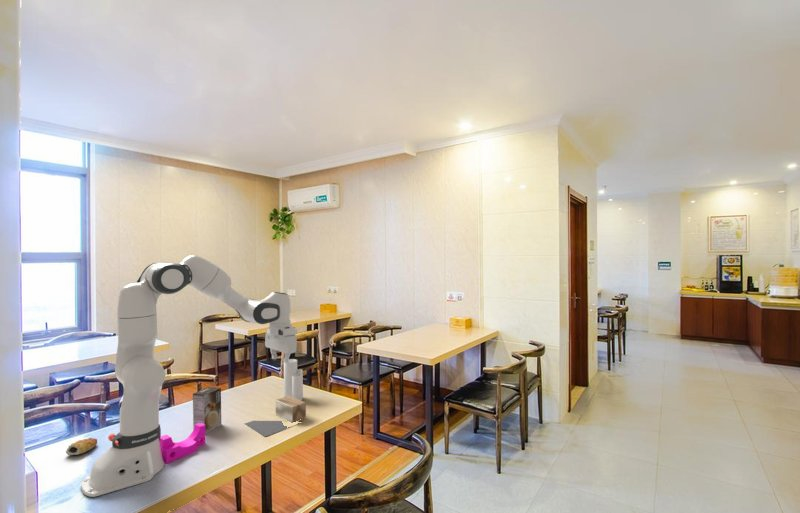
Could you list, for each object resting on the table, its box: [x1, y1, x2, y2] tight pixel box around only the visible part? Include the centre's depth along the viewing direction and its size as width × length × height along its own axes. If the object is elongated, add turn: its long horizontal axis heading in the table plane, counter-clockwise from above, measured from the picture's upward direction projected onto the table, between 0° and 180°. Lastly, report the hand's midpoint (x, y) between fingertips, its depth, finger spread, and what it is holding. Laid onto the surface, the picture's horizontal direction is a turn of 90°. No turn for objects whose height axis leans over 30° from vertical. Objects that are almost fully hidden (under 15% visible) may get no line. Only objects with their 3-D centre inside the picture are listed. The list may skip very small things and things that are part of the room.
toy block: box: [160, 423, 206, 464], centre depth 143 cm, size 15×6×8 cm, turn 145°
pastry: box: [65, 437, 98, 456], centre depth 144 cm, size 9×7×4 cm
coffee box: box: [192, 386, 222, 434], centre depth 162 cm, size 9×6×16 cm
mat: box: [244, 420, 290, 438], centre depth 170 cm, size 30×18×1 cm, turn 138°
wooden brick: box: [275, 396, 307, 423], centre depth 172 cm, size 7×13×7 cm
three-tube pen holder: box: [283, 358, 304, 401], centre depth 192 cm, size 11×7×20 cm, turn 59°
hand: (280, 360), depth 168 cm, fingers open, 8 cm apart
